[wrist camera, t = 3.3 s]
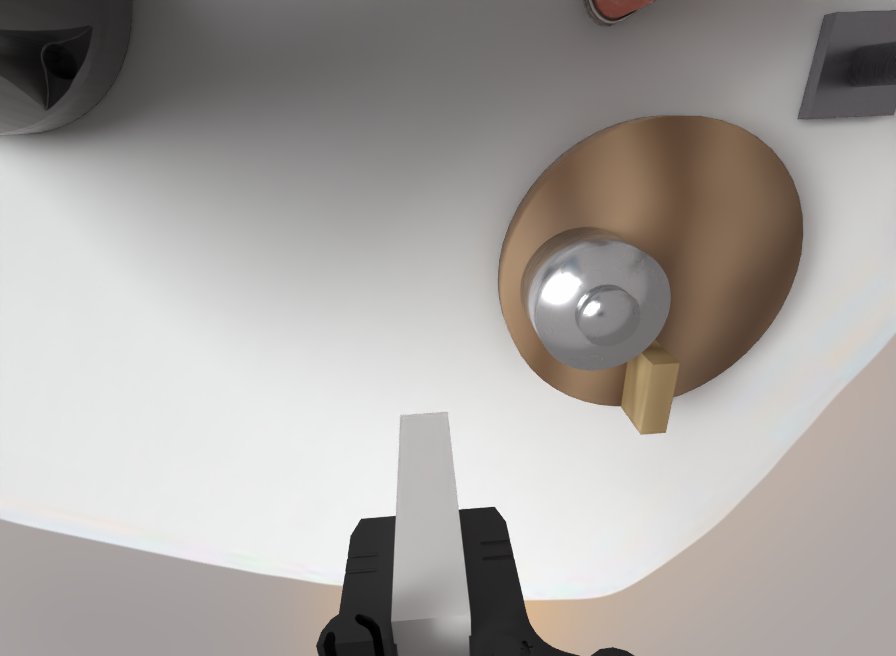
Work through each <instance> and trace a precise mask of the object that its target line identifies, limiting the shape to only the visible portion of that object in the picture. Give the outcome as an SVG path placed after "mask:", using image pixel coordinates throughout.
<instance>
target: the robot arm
mask: <svg viewBox="0 0 896 656" xmlns="http://www.w3.org/2000/svg"><path fill="white" fill-rule="evenodd" d="M130 27H131V0H0V135H16V134H30V133H38V132H44V131H48V130H52V129H55V128H58V127H61V126H64V125H66V124H68V123H70V122H72V121H74V120H76V119H78V118H79V117H81V116H83V115H84V114H85V113H87V112H88V111H89V110H91V109H92V108H93V107H94V106H95V105H96V104H97V103H98V102H99V101H100V100H101V99H102V98H103V97H104V95H105V94H106V93H107V91H108V90H109V89H110V87H111V86H112V84H113V82H114V81H115V79H116V77H117V75H118V73H119V71H120V68H121V66H122V63H123V60H124V58H125V54H126V50H127V46H128V41H129V36H130ZM316 647H317V651H318V654H319V656H579V655H575V654H571V653H567V652H564V651H561V650H559V649H556V648H553V647H552V646H550V645H548V644H547V643H546V642H544V641H543V640H542V639H541V638H540V637H539V636H538V635H537V634H536V632H535V631H534V629H533V628H532V626H531V624H530V622H529V619H528V616H527V613H526V609H525V604H524V600H523V595H522V591H521V586H520V582H519V578H518V573H517V569H516V564H515V560H514V557H513V551H512V547H511V543H510V538H509V533H508V529H507V525H506V521H505V520H504V519H503V517H502V516H501V515H500V513H499V512H498V511H497V509H496V508H495V507H486V508H474V509H461V510H459V509H458V500H457V491H456V482H455V473H454V465H453V456H452V447H451V438H450V429H449V421H448V412H441V413H427V414H413V415H400V437H399V459H398V481H397V503H396V516H390V517H378V518H365V519H361V520H360V522H359V523H358V525H357V526H356V528H355V530H354V531H353V533H352V535H351V537H350V544H349V551H348V559H347V564H346V574H345V577H344V584H343V591H342V597H341V604H340V611H339V614H338V615H337V616H335V617H334V618H333V619H331V620H330V622H329V623H328V624H327V625H326V627H325V628H324V629H323V630H322V632H321V634H320V637H319V640H318V642H317V645H316ZM591 656H634V655H632V654H631V653H629V652H628V651H625V650H621V649H617V648H613V647H612V648H605V649H600V650H598V651H597V652H595V653H594V654H593V655H591Z"/></svg>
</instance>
